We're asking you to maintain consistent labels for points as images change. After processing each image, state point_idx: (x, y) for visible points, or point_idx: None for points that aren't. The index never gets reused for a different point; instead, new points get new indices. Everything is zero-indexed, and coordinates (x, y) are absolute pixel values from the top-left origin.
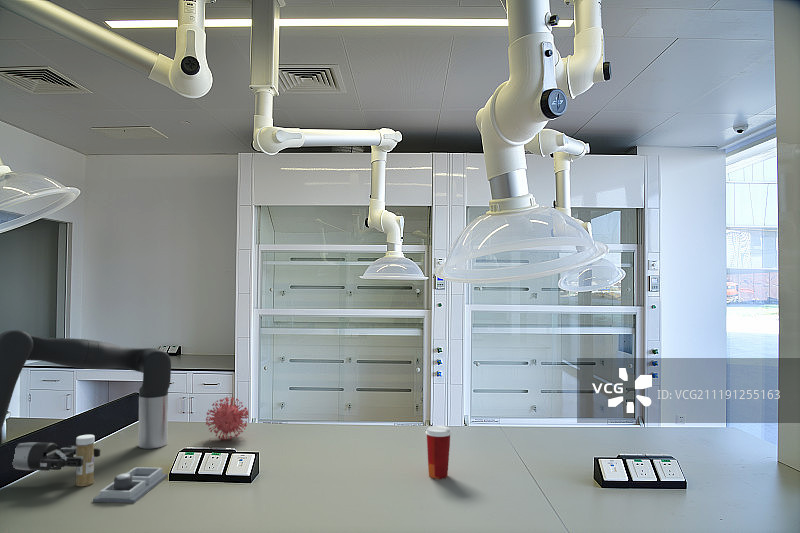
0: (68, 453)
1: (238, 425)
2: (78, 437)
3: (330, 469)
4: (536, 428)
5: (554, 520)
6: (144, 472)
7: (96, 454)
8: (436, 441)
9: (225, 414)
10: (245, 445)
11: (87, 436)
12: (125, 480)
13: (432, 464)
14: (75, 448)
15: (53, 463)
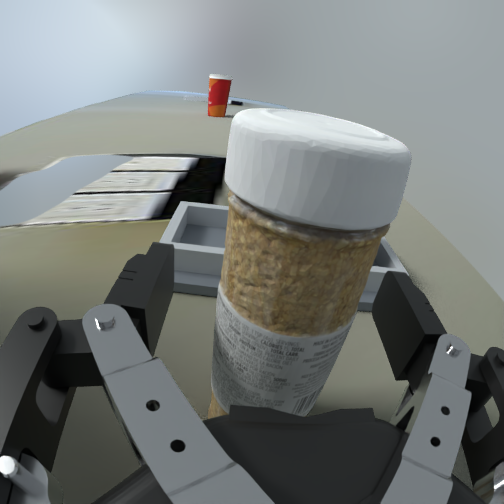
0: (311, 424)
1: None
2: (386, 142)
3: (185, 131)
4: (111, 100)
5: None
6: (177, 241)
7: (168, 286)
8: (230, 84)
9: None
10: (17, 168)
11: (323, 119)
12: None
13: (224, 104)
14: (175, 383)
15: (493, 430)
